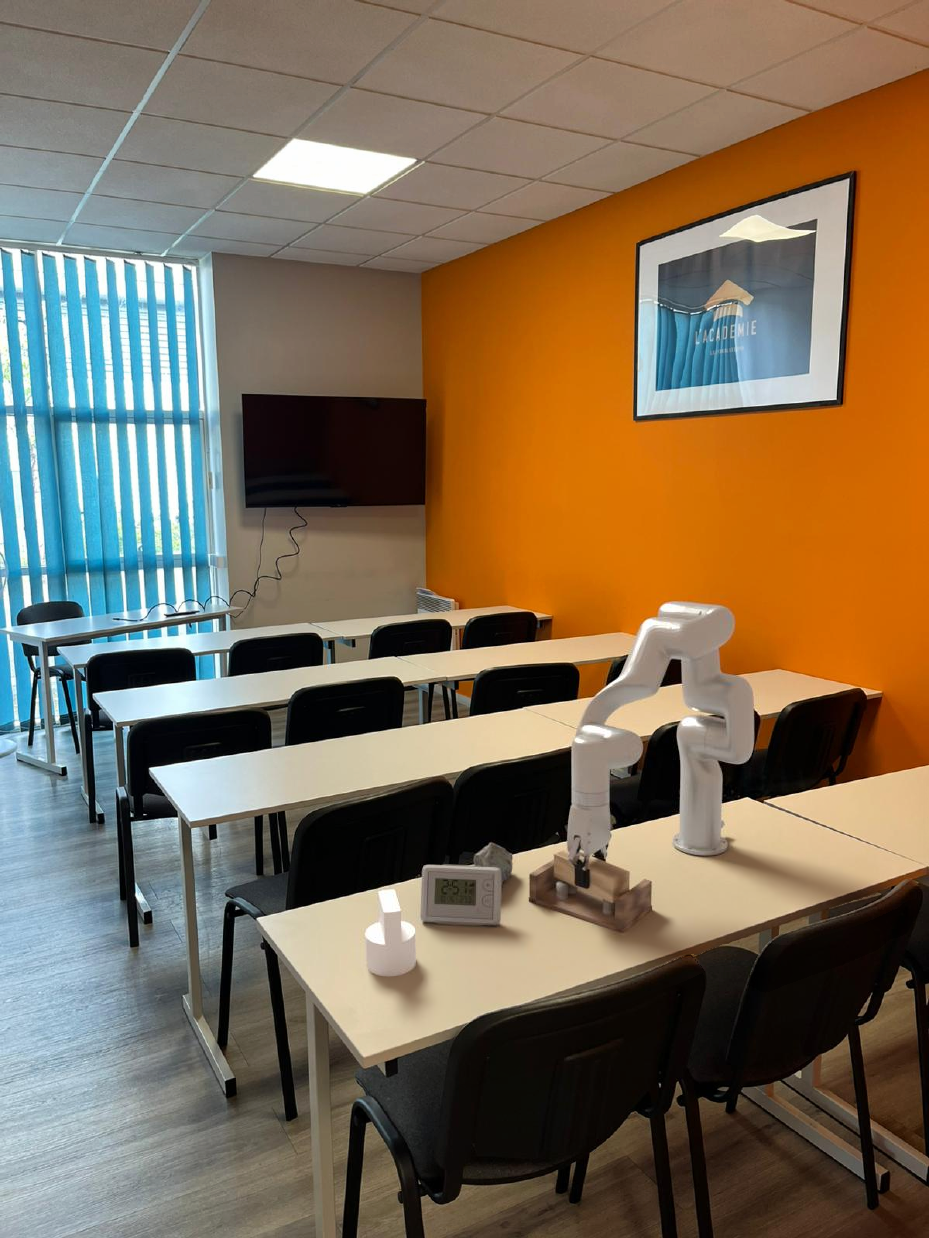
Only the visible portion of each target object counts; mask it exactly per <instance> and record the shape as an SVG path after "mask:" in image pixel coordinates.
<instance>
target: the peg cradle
mask: <svg viewBox="0 0 929 1238" xmlns="http://www.w3.org/2000/svg"><path fill="white" fill-rule="evenodd" d="M528 879H529V881H528V882H529V890H528V891H529V897H528V902H530V903H534V904H536V905H538V906H541V907H545V908H548V909H551V910H553V911H557V912H561V913H563V914H565V915H569V916H572V917H575V918H578V919H581V920H584V921H587V922H590V923H593V924H596V925H599V926H600V927H601V926H602V927H605V928H608V929H611V930H614V931H617V932H620V933H625V932H626V931H627V930H629V929H630V928H631V927H632V926H633V925H635V924H636V923H637V922H638V921H640V920H641V919H642V918H643V917H645V916H646V915H647V914H649V913H650V912H651V911H652V910H653V905H652V894H653V893H652V886H653V885H652V884H653V883H652V880H650V879H646V878H643V879H642V880H641V881H640V882H639V883H637V884H636V885H634V886H633V887H631V888H629V891H628V892H626V893H625V894H623V895H622V896H621V897H619V898H618V899H617V900H615V902H614V903H611V902H609V901H607V900H604V899H602V898H600V897H598V896H596V895H593V894H591V893H589V892H587V891H584V890H582V889H580V888H578V887H576V886H573V885H571V884H569V883H567V882H564V881H562V880H560V879H558V878H556V877H554V859H551V860H550V861H548V862H547V863H546V864H544V865H542V866H541V867H539V868H537V869H536V870H533V871H532V872H530V873H529V877H528Z"/></svg>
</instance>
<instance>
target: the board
mask: <svg viewBox="0 0 929 1238" xmlns="http://www.w3.org/2000/svg"><path fill="white" fill-rule="evenodd" d="M580 852H581V853H584V851H580ZM569 853H570V852H568V850H567V848H566V849H563V850H561V851H558V852H555V853H554V854H553V860H554V877H556V878H558V879H560V880H562V881H564V882H567V883H569V884H571V885H573V886H576V885H575V868H574V867H573V864H572V863H571V862H570V861H569V860H568V855H569ZM579 859H580V860H581V861H582V862H584V857H582V856H580V858H579ZM588 869H589V870H590V887H589V888H588V889H585V888H582V887H579V886H576V887H578V888H580V889H582V890H584V891H587V892H589V893H591V894H593V895H596V896H598V897H600V898H602V899H604V900H607V901H609V902H611V903H614V902H615V900H617V899H618V898H619V897H621V896H622V895H623V894H625V893H626V892H628V891H629V890H630V882H631V881H630V877H631V876H630V874H631V873H630V871H629V870H626V869H624V868H621V867H619V866H616V865H614V864H611V863H609V862H607V861H606V862H605V861H602V860H600V859H597V858H595V857H592V855H590V858H589V863H588Z"/></svg>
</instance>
